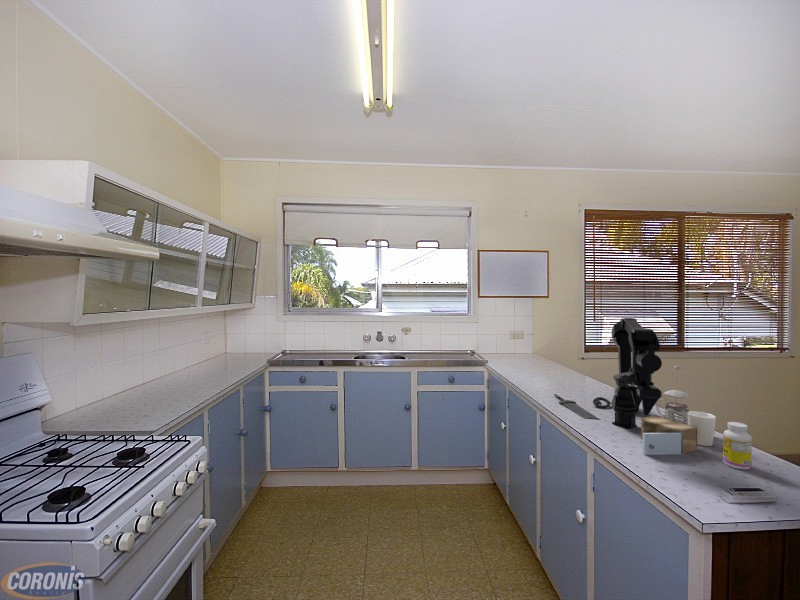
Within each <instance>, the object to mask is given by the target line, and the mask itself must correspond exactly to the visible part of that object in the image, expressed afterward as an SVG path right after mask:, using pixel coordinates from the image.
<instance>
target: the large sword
mask: <svg viewBox="0 0 800 600" xmlns="http://www.w3.org/2000/svg"><path fill="white" fill-rule="evenodd" d="M553 396H555V397H556V398H558V399H559V401H558V404H559V405H561V406H565V407H566V408H567V409H569V410H571V411H572V412H574V413H575V414H577V415H578V416H580V417H581V418H583V419H584V420H588V419H589V420H590V419H591V420H592V419H593V420H597V421H598V420H599V421H600V420H601V418H599V417H597V416H596V415H594V414H593V413H591V412H590V411H588V410H586V409H584V408H583V407H581V406H580V405H579V404H577V401H574V400H571V399H570V400H569V399H564V398H562V397H560V396H559V395H558V394H556V393H554V394H553Z"/></svg>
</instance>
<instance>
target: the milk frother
mask: <svg viewBox="0 0 800 600" xmlns="http://www.w3.org/2000/svg"><path fill="white" fill-rule="evenodd" d="M613 380H614V379H613ZM613 387H614V388H613V396H614V395H615V390H616V388H617V387H618V385H616V383H615V380H614V381H613ZM601 401H603V402H605V403H606V404H605V405H602V402H601ZM592 404H593V405H594V406H595V407H597V408H601V409H608V408H610V407H611V405H612V401H610V400H609V399H607V398H604V397H602V396H600V397H599V396H598V397H595V398H594V399H593V400H592ZM616 406H617V405H616ZM636 413H637V412H635V414H636Z"/></svg>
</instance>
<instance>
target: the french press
mask: <svg viewBox="0 0 800 600" xmlns="http://www.w3.org/2000/svg"><path fill="white" fill-rule="evenodd" d="M673 368H674V369H676V370H680V369H681V367H680V366H679V365H674V366H673ZM675 379H676V381H675V382H676V385H675V386H676V387H675V388H676V389H671V390H670V389H669V390H667V391H664V392H663V394H664V396H662V398H660V399H658V401H657V402H656V403H655V408H656V411H657V413H659V414H660V415H661V416H663V418H666V419H670V420H673V421H677V422H680V423H684V424H687V425H688V414H687V413H688V412H690V410H689V409H688V408H689V406H688V405H687V404H685V403H681V402H677V400H678V399H688V398H690V397H691V396H690V395H689V394H688V393H687V392H684V391H682V390H679V389H678V377H676V378H675ZM665 396H667V397H671V398H675V402H674V401H668V398H667V397H665ZM662 401H665V406H664V408H663V414H662V413H661V411H660V403H662Z"/></svg>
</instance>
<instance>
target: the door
mask: <svg viewBox="0 0 800 600" xmlns="http://www.w3.org/2000/svg"><path fill="white" fill-rule="evenodd" d="M641 451H642V454H644V455H678V454H679V455H680V454H681V455H684V454H683V432H680V433H643V440H642V450H641Z"/></svg>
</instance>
